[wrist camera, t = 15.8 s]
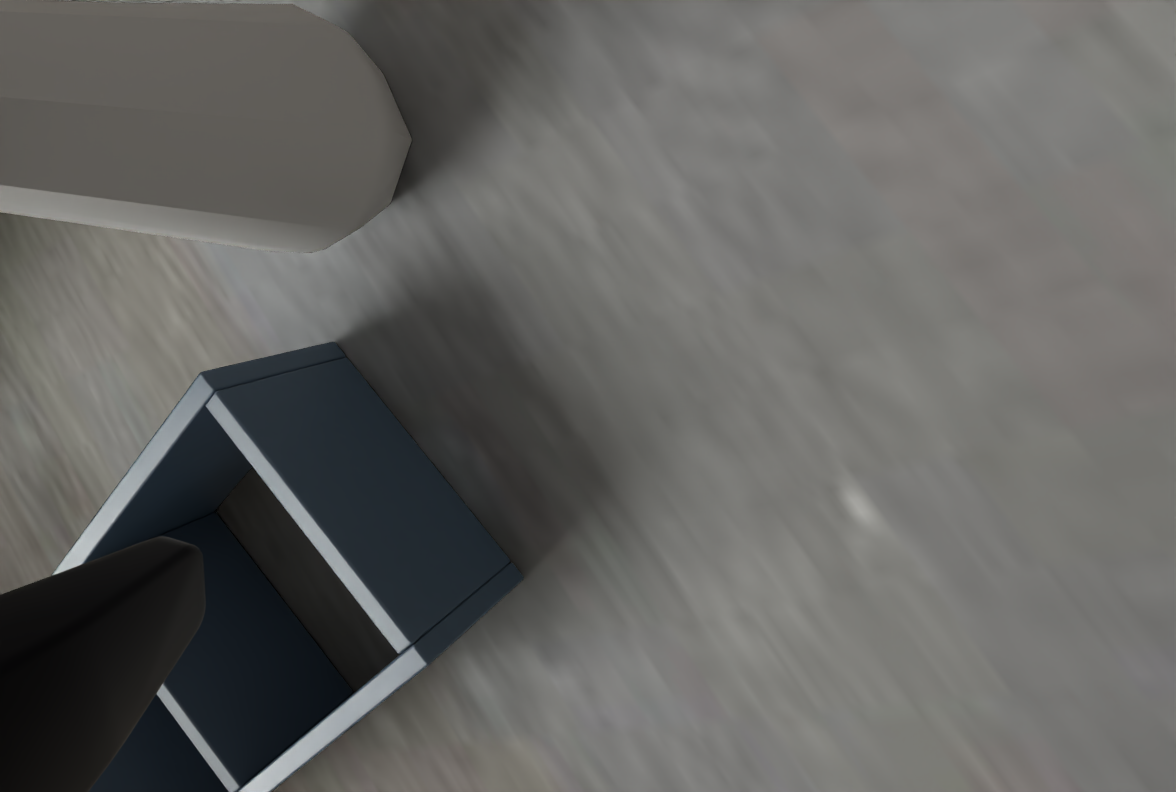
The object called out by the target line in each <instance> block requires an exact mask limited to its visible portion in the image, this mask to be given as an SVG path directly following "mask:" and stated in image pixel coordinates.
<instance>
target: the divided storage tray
mask: <svg viewBox="0 0 1176 792" xmlns="http://www.w3.org/2000/svg"><path fill="white" fill-rule="evenodd" d="M251 467H253V468H254V469H255V471H256V472H257V473H258V474H259V476H260V477H261V478H262V480H263V481H264V482H265V483H266V485H267V486H268V487H269V489H270V490H271V491H272V492H273V494H274V495H275V496H276V498H277V499H278V500H279V501H280V503H281V504H282V505H283V507H284V508H285V509H286V510H287V512H288V513H289V514H290V516H291V517H292V518H293V519H294V521H295V522H296V523H297V525H298V526H299V527H300V528H301V530H302V531H303V532H304V534H305V535H306V536H307V537H308V539H309V540H310V541H311V543H312V544H313V545H314V546H315V548H316V549H317V550H318V552H319V553H320V554H321V555H322V557H323V558H324V559H325V561H326V562H327V563H328V564H329V566H330V567H331V568H332V570H333V571H334V572H335V573H336V575H337V576H338V577H339V579H340V580H341V581H342V582H343V584H344V585H345V586H346V588H347V589H348V590H349V591H350V593H351V594H352V595H353V597H354V598H355V599H356V600H357V602H358V603H359V604H360V606H361V607H362V608H363V610H364V611H365V612H366V613H367V615H368V616H369V617H370V619H371V620H372V621H373V622H374V624H375V625H376V626H377V628H378V629H379V630H380V631H381V633H382V634H383V635H384V637H385V638H386V639H387V640H388V642H389V643H390V644H391V646H392V647H393V648H394V649H395V651H396V652H397V653H398V654H400V655H399V656H398V657H397V658H395V659H394V660H393V661H392V662H391V663H389V664H388V665H387V666H386V667H385V668H383V669H382V670H381V671H380V672H379V673H377V674H376V675H375V676H374V677H373V678H371V679H370V680H369V681H368V682H367V683H365V684H364V685H363V686H362V687H361V688H359V689H358V690H357V691H356V692H355V693H353V691H352V690H351V688H350V687H349V686H348V684H347V683H346V682H345V680H344V679H343V678H342V676H341V675H340V674H339V673H338V671H337V670H336V669H335V667H334V666H333V665H332V663H331V662H330V661H329V659H328V658H327V657H326V656H325V654H324V653H323V652H322V650H321V649H320V648H319V646H318V645H317V644H316V643H315V641H314V640H313V639H312V637H311V636H310V635H309V633H308V632H307V631H306V629H305V628H304V627H303V626H302V624H301V623H300V622H299V620H298V619H297V618H296V616H295V615H294V614H293V613H292V611H291V610H290V609H289V607H288V606H287V605H286V603H285V602H284V601H283V599H282V598H281V597H280V596H279V594H278V593H277V592H276V590H275V589H274V588H273V586H272V585H271V584H270V583H269V581H268V580H267V579H266V577H265V576H264V575H263V573H262V572H261V571H260V569H259V568H258V567H257V566H256V564H255V563H254V562H253V560H252V559H251V558H250V556H249V555H248V554H247V553H246V551H245V550H244V549H243V547H242V546H241V545H240V543H239V542H238V541H237V539H236V538H235V537H234V536H233V534H232V533H231V532H230V530H229V529H228V528H227V526H226V525H225V524H224V523H223V521H222V520H221V519H220V517H219V516H218V515H217V513H215V512H214V511H215V510H216V509H217V507H218V506H219V505H220V504H221V503H222V502H223V500H224V499H225V498H226V497H227V496H228V494H229V493H230V492H231V491H232V490H233V489H234V487H235V486H236V485H237V484H238V483H239V482H240V480H241V479H242V478H243V477H244V476H245V474H246V473H247V472H248V471H249V470H250V469H251ZM213 512H214V513H213ZM160 536H164V537H170V538H173V539H176V540H179V541H183V542H186V543H189V544H192V545H195V546H196V547H198V548H199V549H200V551H201V552H202V554H203V562H204V579H205V596H206V609H205V614H204V617H203V621H202V623H201V625H200V627H199V629H198V631H197V632H196V634H195V635H194V637H193V638H192V640H191V641H190V643H189V645H188V646H187V648H186V649H185V651H184V652H183V654H182V655H181V657H180V658H179V660H178V661H177V663H176V664H175V666H174V667H173V669H172V671H171V672H170V674H169V675H168V677H167V678H166V680H165V681H164V683H163V684H162V686H161V687H160V689H159V690H158V692H157V694H156V695H155V697H154V698H153V700H152V701H151V703H150V704H149V706H148V707H147V709H146V710H145V712H144V713H143V715H142V717H141V718H140V720H139V721H138V723H137V724H136V726H135V727H134V729H133V730H132V732H131V733H130V735H129V736H128V738H127V739H126V741H125V742H124V744H123V745H122V747H121V748H120V750H119V751H118V753H117V754H116V755H115V757H114V758H113V760H112V761H111V763H110V764H109V765H108V767H107V768H106V769H105V771H104V772H103V773H102V775H101V776H100V777H99V779H98V780H97V781H96V782H95V784H94V785H93V786H92V788H91V789H90V790H89V791H88V792H272V791H273V790H274V789H275V788H277V787H278V786H279V785H280V784H282V783H283V782H284V781H285V780H287V779H288V778H289V777H290V776H292V775H293V774H294V773H295V772H297V771H298V770H299V769H300V768H302V767H303V766H304V765H305V764H307V763H308V762H309V761H310V760H312V759H313V758H314V757H315V756H317V755H318V754H319V753H320V752H322V751H323V750H324V749H325V748H326V747H328V746H329V745H330V744H331V743H333V742H334V741H335V740H336V739H338V738H339V737H340V736H341V735H343V734H344V733H345V732H346V731H348V730H349V729H350V728H351V727H353V726H354V725H355V724H356V723H358V722H359V721H360V720H361V719H363V718H364V717H365V716H366V715H368V714H369V713H370V712H371V711H373V710H374V709H375V708H376V707H378V706H379V705H380V704H381V703H383V702H384V701H385V700H386V699H388V698H389V697H390V696H391V695H392V694H394V693H395V692H396V691H397V690H399V689H400V688H401V687H402V686H404V685H405V684H406V683H407V682H409V681H410V680H411V679H412V678H414V677H415V676H416V675H417V674H419V673H420V672H421V671H422V670H424V669H425V668H426V667H427V666H429V665H430V664H431V663H432V662H433V661H434V660H435V659H436V658H437V657H439V656H440V655H441V654H442V653H443V652H444V651H445V650H446V649H447V648H449V647H450V646H451V645H452V644H453V643H454V642H455V641H456V640H457V639H458V638H460V637H461V636H462V635H463V634H464V633H465V632H466V631H467V630H468V629H469V628H471V627H472V626H473V625H474V624H475V623H476V622H477V621H478V620H479V619H480V618H482V617H483V616H484V615H485V614H486V613H487V612H488V611H489V610H490V609H491V608H493V607H494V606H495V605H496V604H497V603H498V602H499V601H500V600H501V599H502V598H504V597H505V596H506V595H507V594H508V593H509V592H510V591H511V590H512V589H513V588H515V587H516V586H517V585H518V584H519V583H520V582H521V581H522V580H523V579H524V577H523V575H522V574H521V573H520V572H519V570H518V569H517V568H516V567H515V565H514V564H513V563H510V559H509V558H508V557H507V556H506V554H505V553H504V552H503V551H502V549H501V548H500V547H499V546H498V544H497V543H496V542H495V541H494V539H493V538H492V537H491V536H490V534H489V533H488V532H487V531H486V529H485V528H484V527H483V526H482V525H481V523H480V522H479V521H478V520H477V518H476V517H475V516H474V515H473V513H472V512H471V511H470V510H469V508H468V507H467V506H466V505H465V503H464V502H463V501H462V500H461V498H460V497H459V496H458V495H457V493H456V492H455V491H454V490H453V488H452V487H451V486H450V485H449V484H448V482H447V481H446V480H445V479H444V477H443V476H442V475H441V474H440V472H439V471H438V470H437V469H436V467H435V466H434V465H433V464H432V462H431V461H430V460H429V459H428V457H427V456H426V455H425V454H424V452H423V451H422V450H421V449H420V447H419V446H418V445H417V444H416V443H415V441H414V440H413V439H412V438H411V436H410V435H409V434H408V433H407V431H406V430H405V429H404V428H403V426H402V425H401V424H400V423H399V421H398V420H397V419H396V418H395V416H394V415H393V414H392V413H391V411H390V410H389V409H388V408H387V406H386V405H385V404H384V403H383V401H382V400H381V399H380V398H379V397H378V395H377V394H376V393H375V392H374V390H373V389H372V388H371V387H370V385H369V384H368V383H367V382H366V380H365V379H364V378H363V377H362V375H361V374H360V373H359V372H358V370H357V369H356V368H355V367H354V365H353V364H352V363H351V362H350V360H349V359H348V358H346V357H345V354H344V353H343V352H342V350H341V349H340V348H339V347H338V345H337V344H336V343H335V342H329V343H325V344H321V345H316V346H312V347H308V348H303V349H299V350H295V351H290V352H286V353H281V354H277V355H273V356H268V357H264V358H260V359H255V360H251V361H247V362H242V363H238V364H234V365H229V366H225V367H221V368H216V369H212V370H207V371H203V372H201V373H200V374H199V375H198V376H197V378H196V379H195V380H194V382H193V383H192V385H191V386H190V387H189V389H188V390H187V391H186V393H185V394H184V395H183V397H182V398H181V399H180V401H179V402H178V404H177V405H176V406H175V408H174V409H173V410H172V412H171V413H170V414H169V416H168V417H167V418H166V420H165V421H164V423H163V424H162V425H161V427H160V428H159V429H158V431H157V432H156V433H155V435H154V436H153V438H152V439H151V440H150V442H149V443H148V444H147V446H146V447H145V448H144V450H143V451H142V452H141V454H140V455H139V457H138V458H137V459H136V461H135V462H134V463H133V465H132V466H131V467H130V469H129V470H128V472H127V473H126V474H125V476H124V477H123V478H122V480H121V481H120V482H119V484H118V485H117V486H116V488H115V489H114V491H113V492H112V493H111V495H110V496H109V497H108V499H107V500H106V501H105V503H104V504H103V506H102V507H101V508H100V510H99V511H98V512H97V514H96V515H95V516H94V518H93V519H92V520H91V522H90V523H89V525H88V526H87V527H86V529H85V530H84V531H83V533H82V534H81V535H80V537H79V538H78V539H77V541H76V542H75V544H74V545H73V546H72V548H71V549H70V550H69V552H68V553H67V554H66V556H65V557H64V559H63V560H62V561H61V563H60V564H59V565H58V567H57V568H56V569H55V571H54V572H53V573H52V575H55V574H58V573H60V572H63V571H66V570H68V569H71V568H74V567H76V566H79V565H82V564H84V563H87V562H90V561H93V560H95V559H98V558H101V557H103V556H106V555H109V554H111V553H114V552H117V551H119V550H122V549H125V548H127V547H130V546H133V545H135V544H138V543H141V542H143V541H146V540H149V539H152V538H155V537H160ZM52 575H51V576H52Z"/></svg>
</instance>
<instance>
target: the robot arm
mask: <svg viewBox="0 0 1176 792" xmlns="http://www.w3.org/2000/svg"><path fill="white" fill-rule="evenodd" d="M205 609H206V596H205V579H204V562H203V554H202V552H201V551H200V549H199V548H198V547H196V546H195V545H192V544H189V543H186V542H183V541H179V540H176V539H173V538H170V537H164V536H160V537H155V538H152V539H149V540H146V541H143V542H141V543H138V544H135V545H133V546H130V547H127V548H125V549H122V550H119V551H117V552H114V553H111V554H109V555H106V556H103V557H101V558H98V559H95V560H93V561H90V562H87V563H84V564H82V565H79V566H76V567H74V568H71V569H68V570H66V571H63V572H60V573H58V574H55V575H52V576H50V577H47V578H44V579H42V580H39V581H36V582H34V583H31V584H28V585H26V586H23V587H20V588H18V589H15V590H12V591H10V592H7V593H4V594H1V595H0V792H88V791H89V790H90V789H91V788H92V786H93V785H94V784H95V782H96V781H97V780H98V779H99V777H100V776H101V775H102V773H103V772H104V771H105V769H106V768H107V767H108V765H109V764H110V763H111V761H112V760H113V758H114V757H115V755H116V754H117V753H118V751H119V750H120V748H121V747H122V745H123V744H124V742H125V741H126V739H127V738H128V736H129V735H130V733H131V732H132V730H133V729H134V727H135V726H136V724H137V723H138V721H139V720H140V718H141V717H142V715H143V713H144V712H145V710H146V709H147V707H148V706H149V704H150V703H151V701H152V700H153V698H154V697H155V695H156V694H157V692H158V690H159V689H160V687H161V686H162V684H163V683H164V681H165V680H166V678H167V677H168V675H169V674H170V672H171V671H172V669H173V667H174V666H175V664H176V663H177V661H178V660H179V658H180V657H181V655H182V654H183V652H184V651H185V649H186V648H187V646H188V645H189V643H190V641H191V640H192V638H193V637H194V635H195V634H196V632H197V631H198V629H199V627H200V625H201V623H202V621H203V617H204V614H205Z"/></svg>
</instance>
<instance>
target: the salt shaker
mask: <svg viewBox="0 0 1176 792" xmlns="http://www.w3.org/2000/svg"><path fill="white" fill-rule="evenodd" d="M411 141H412V139H411V136H410V134H409V132H408V129H407V127H406V125H405V122H404V120H403V118H402V116H401V113H400V111H399V109H398V106H397V104H396V102H395V99H394V97H393V95H392V93H391V90H390V88H389V86H388V83H387V81H386V79H385V76H384V74H383V73H382V72H381V71H380V70H379V68H378V67H377V66H376V65H375V64H374V62H373V61H372V60H371V59H370V58H369V56H368V55H367V54H366V53H365V52H364V51H363V49H362V48H361V47H360V46H359V45H358V43H357V42H356V41H355V40H354V39H353V37H352V36H351V35H350V34H349V33H348V32H346V31H344V30H343V29H341V28H339V27H337V26H336V25H334V24H332V23H330V22H328V21H326V20H324V19H322V18H320V17H318V16H316V15H314V14H312V13H310V12H308V11H306V10H304V9H301V8H299V7H297V6H295V5H293V4H210V3H109V2H81V1H53V0H0V212H3V213H10V214H16V215H23V216H30V217H37V218H44V219H51V220H58V221H64V222H71V223H78V224H85V225H92V226H99V227H106V228H112V229H119V230H126V231H133V232H140V233H147V234H154V235H160V236H167V237H174V238H181V239H188V240H195V241H202V242H208V243H215V244H222V245H229V246H236V247H243V248H250V249H256V250H263V251H270V252H297V253H313V252H316V251H320V250H324V249H326V248H328V247H329V246H331V245H333V244H334V243H336V242H338V241H339V240H341V239H343V238H344V237H346V236H348V235H350V234H351V233H353V232H355V231H356V230H358V229H360V228H361V227H362V226H364V225H365V224H366V223H367V222H368V221H370V220H371V219H372V218H373V217H375V216H376V215H377V214H378V213H380V212H381V211H382V210H383V209H384V208H386V207H387V206H388V205H389V204H390V203H391V200H392V197H393V194H394V191H395V188H396V185H397V182H398V180H399V177H400V174H401V171H402V168H403V165H404V162H405V159H406V156H407V153H408V150H409V147H410V144H411Z"/></svg>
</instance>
